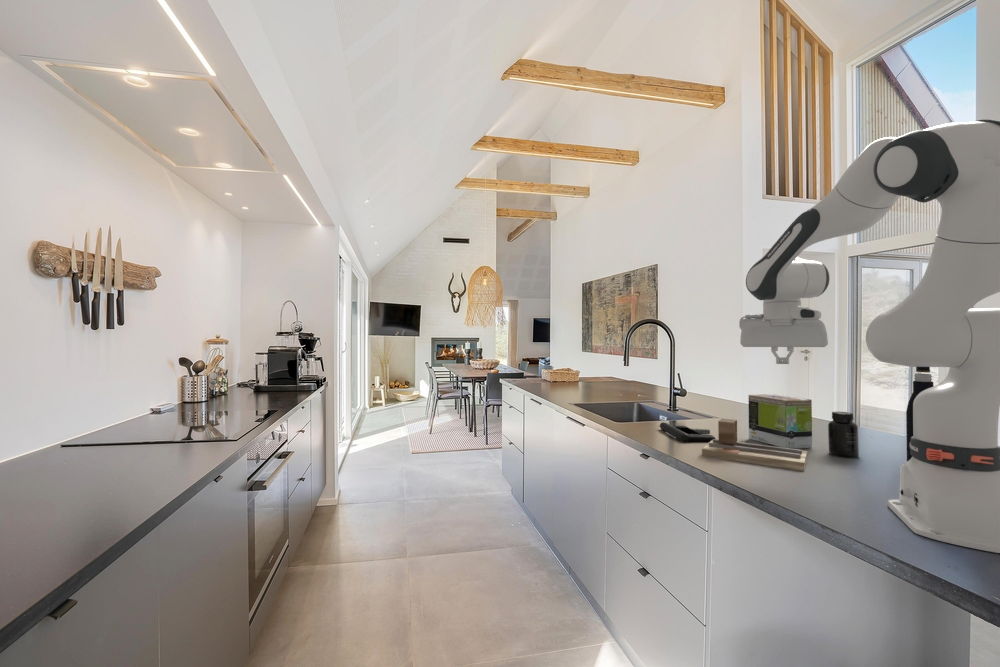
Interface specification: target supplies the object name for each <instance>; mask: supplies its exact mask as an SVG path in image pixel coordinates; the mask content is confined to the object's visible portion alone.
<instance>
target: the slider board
mask: <svg viewBox="0 0 1000 667" xmlns="http://www.w3.org/2000/svg"><path fill="white" fill-rule="evenodd" d="M701 456H702V457H706V458H714V459H720V460H727V461H728V460H729V461H734V462H735V461H736V462H741V463H742V462H743V463H746V464H747V463H749V464H756V465H761V466H762V465H763V466H767V467H776V468H783V469H788V470H789V469H790V470H796V471H801V472H802V471H803V472H805V469H806V465H807V461H808V450H802V449H799V448H797V449H790V448H782V447H778V446H775V445H772V446H771V445H765V444H756V443H749V442H748V443H747V442H742V441H741V442H740V441H737V446H734V445H727V444H719V439H716V438H715V439H713V440H712V441H710V442H707V444H706V445H705V446H704V447H702V448H701Z"/></svg>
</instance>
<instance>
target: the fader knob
mask: <svg viewBox="0 0 1000 667" xmlns="http://www.w3.org/2000/svg"><path fill="white" fill-rule="evenodd" d="M717 422H718V423H717V424H718V427H717V428H718V440H719V444H727V445H734V446H737V442H738V420H737V419H731V418H721V419H718V421H717Z"/></svg>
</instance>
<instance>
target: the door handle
mask: <svg viewBox="0 0 1000 667" xmlns="http://www.w3.org/2000/svg"><path fill="white" fill-rule="evenodd" d="M657 427H659V428H660V429H661V431H663V432H665V434H667V435H668V436H670V437H671V438H673V439H675V440H676V439H677V440H679V441H680V442H682V443H688V442H689V443H709V442H710V441H712V440H713V439H716V437H715V436H714V435H711V430H710V429H707V428H691V427H688V426H685V425H674V424H673V425H671V424H669V423H667V422H664V421H663V422H661V423H660V424H659V426H657Z"/></svg>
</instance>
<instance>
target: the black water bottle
mask: <svg viewBox="0 0 1000 667" xmlns="http://www.w3.org/2000/svg"><path fill="white" fill-rule="evenodd" d="M915 368H916V369H915V372H916V373H914V375H913V377H914V380H913V381H912V393H911V395H910V397H909V400H908V402H907V406H906V411H905V418H906V419H905V422H906V424H905V425H906V426H905V427H906V430H905V431H906V434H905V435H906V462H908V461H909V460H910V459H911V458H912V455H911V454H910V440H911V437H912V436H913V402H914V399H915V398H916V396H917V395H918V394H919V393H921V392H922V391H924V390H926V389H928V388H931V387H934V386H935V385H934V382H933V381H932V380H933V378H932V377H933V375H932V374H931V373H930V372H931V367H915Z"/></svg>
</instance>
